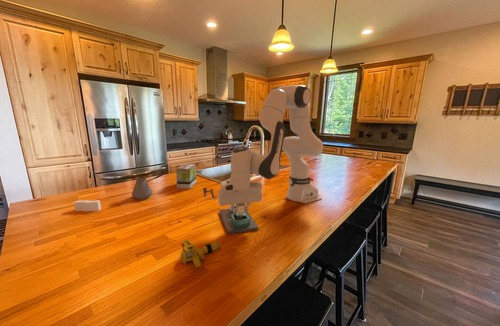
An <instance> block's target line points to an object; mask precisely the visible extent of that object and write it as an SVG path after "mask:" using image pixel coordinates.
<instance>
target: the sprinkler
mask: <svg viewBox="0 0 500 326" xmlns="http://www.w3.org/2000/svg"><path fill="white" fill-rule="evenodd" d="M188 244H189V245H188ZM182 245H183V250H184V251H181V253H180V258H179V259H180V260H181V262H182V263H183V265H186V263H187V262H190V261H192V262H193V264H194V266H195V267H196V268H197V267H198V268H199V267H201V265H202V264H201V263H202V262H201V260H204V259H205V258H206V256H205V254H209V253H212V252H215V251H216V250H218V249H220V248H221V243H220V242H219V241H214V242H211V243H208V244H205V245H204V246H202V247H201V248H199V247H198V246H195V244H193V243H192V242H191V241H190V240H188V239H186V240H183V241H182Z"/></svg>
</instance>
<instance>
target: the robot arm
mask: <svg viewBox="0 0 500 326" xmlns="http://www.w3.org/2000/svg"><path fill="white" fill-rule="evenodd" d="M310 100H311V90H310V88H309V87H308V86H307V85H303V84H299V85H295V84H293V85H292V84H288V85H282V86H276V87H274V88H272V89H271V91H269V93H268V95H267V96H266V98H265V100H264V102H263V105H262V108H261V110H260V113H259V123H260V125H261V126H262V127H263V129H265V130H267V131H268V132H269V133H270V135H271V137H270V143H269V148H268V152H267V153H266V154H262V153H258V152H255V151H253V150H251V149H250V147H247V146H238V147H236V148H234V149H232V151H231V154H230V169H231V173H230V174H231V175H230V178H228V179H226V180H222V181H221V182H220V188H219V190H218V193H217V194H218V196H217V201H218V202H217V203H218V205H219V206H220V207H222V206H231V207H232V208H233V213H237V209H236V208H234V207H233V206H235V205H236V204H239V203H240V202H244V203H245V204H246V205H245V211H249V207H250V206H251V203H257V202H261V201H262V199H263V194H262V189H263V184H262V182H260V181H251V174H254V175H257V176H260V177H262V178H264V179H267V180H270V179H273V178H274V177H276V176H277V175H278V174H279V173H280V168H281V156H282V151H283V152H284V153H285V154H286V155H287V157H288V159H289V164H290V174H289V178H288V179H289V180H288V184H289V186H288V190H287V193H286V195H285V196H286V198H287V199H288V200H289V201H293V202H299V203H303V204H308V203H311V202H316V201H320V200H322V199H323V197H322V196H321V194H319V190H318V188H317V187H316V186H315V185H314V184H313V183H312V182H314V180H315V179H314V178H313V177H309V171H310V165H309V163H308V162H307V161H305V160H304V158H303V157H302V156H307V157H317V156H320V155H321V154H322V152H323V151H324V143H323V141H322V140H321V139H320V138H318V136H316V135H315V133H314V132H313V129H312V127H311V120H310V109H309V103H310V102H311V101H310ZM286 109H288V117H289V127H290V130H291V132H293V133H294V134H296V136H295V135H293V136H285V134H286V127H285V124H284V117H285V113H286V111H287V110H286Z"/></svg>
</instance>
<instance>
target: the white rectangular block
mask: <svg viewBox="0 0 500 326" xmlns="http://www.w3.org/2000/svg"><path fill="white" fill-rule="evenodd" d="M73 204H74V210H75V212H82V211H83V212H97V211H98V212H99V211H101V209H102V206H101V201H100V200H99V199H98V200H97V199H95V200H87V199H84V200H83V199H82V200H76V201H74V202H73Z"/></svg>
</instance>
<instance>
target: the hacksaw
mask: <svg viewBox="0 0 500 326" xmlns="http://www.w3.org/2000/svg"><path fill="white" fill-rule="evenodd" d="M209 192H210V193H211V196H212V198H210V199H208V200H212V199H213V200H216V199H217V200H218V197H216V196H215V195H214V189H213V188H212V189H209V190H208V188H207V187H204V188H203V194H204V198H206V197H207V193H209Z"/></svg>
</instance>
